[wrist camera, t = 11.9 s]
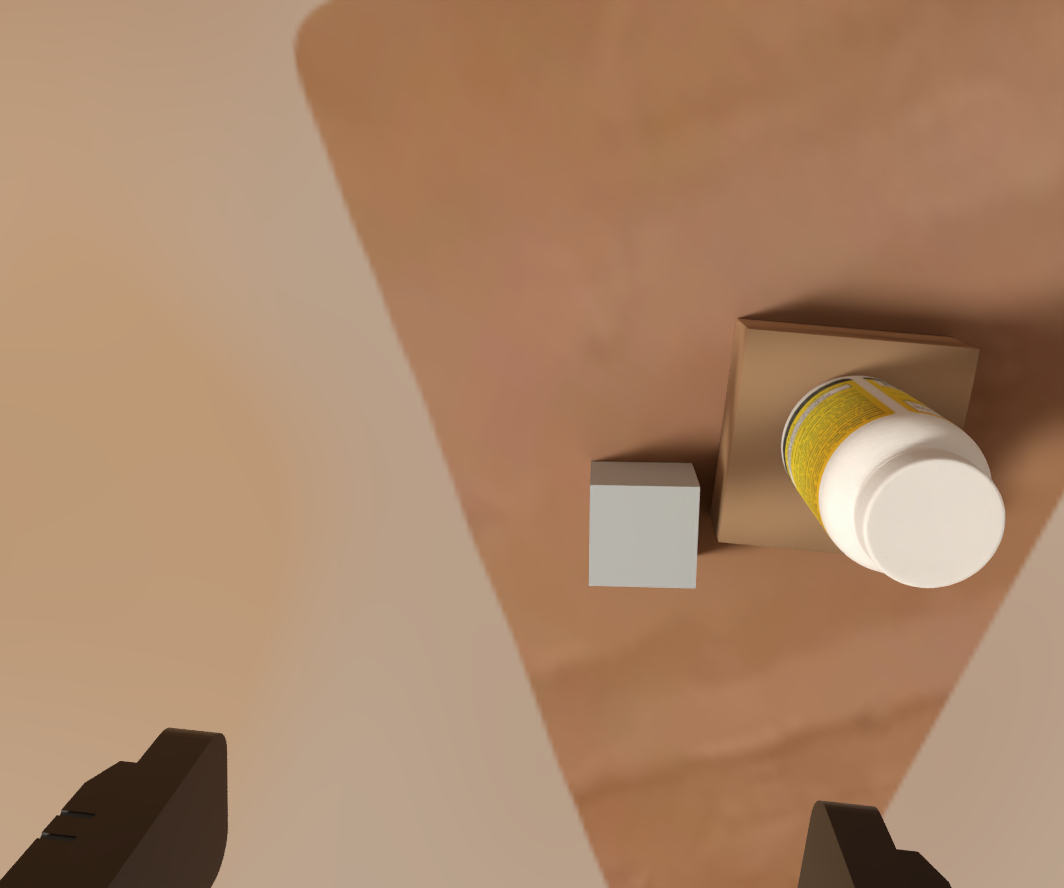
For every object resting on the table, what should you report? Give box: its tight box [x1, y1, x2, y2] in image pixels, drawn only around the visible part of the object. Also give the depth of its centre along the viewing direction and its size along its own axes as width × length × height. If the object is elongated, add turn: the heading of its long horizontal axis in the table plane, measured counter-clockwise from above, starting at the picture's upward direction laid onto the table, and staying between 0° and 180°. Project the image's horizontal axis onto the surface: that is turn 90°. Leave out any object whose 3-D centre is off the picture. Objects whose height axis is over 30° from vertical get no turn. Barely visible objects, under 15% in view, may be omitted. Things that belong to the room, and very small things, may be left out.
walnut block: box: [710, 318, 980, 554], centre depth 44 cm, size 10×10×4 cm
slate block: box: [589, 461, 700, 588], centre depth 45 cm, size 5×5×4 cm
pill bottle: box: [781, 376, 1005, 588], centre depth 37 cm, size 6×6×11 cm
